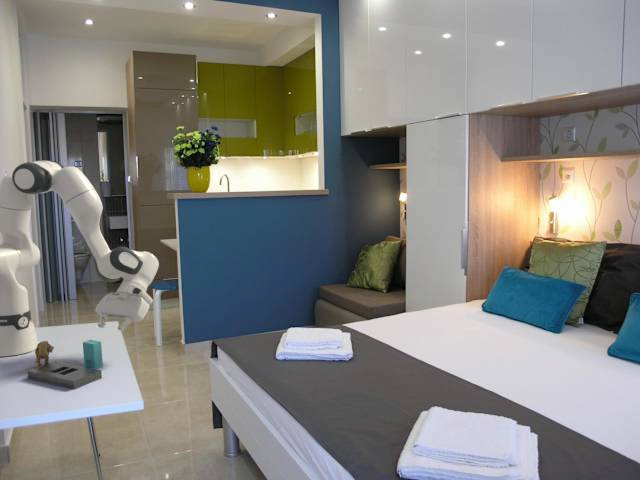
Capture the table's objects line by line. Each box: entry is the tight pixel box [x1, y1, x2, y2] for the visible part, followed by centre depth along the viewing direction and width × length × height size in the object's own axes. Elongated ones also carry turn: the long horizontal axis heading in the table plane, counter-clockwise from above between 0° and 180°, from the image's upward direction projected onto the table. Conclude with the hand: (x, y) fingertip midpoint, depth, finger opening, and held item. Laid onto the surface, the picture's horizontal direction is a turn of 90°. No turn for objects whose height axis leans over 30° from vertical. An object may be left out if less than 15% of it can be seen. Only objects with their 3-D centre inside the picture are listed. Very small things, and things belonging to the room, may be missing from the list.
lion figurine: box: [34, 340, 55, 368], centre depth 188 cm, size 15×5×9 cm, turn 35°
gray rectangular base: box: [27, 360, 103, 390], centre depth 174 cm, size 21×10×2 cm, turn 63°
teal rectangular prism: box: [82, 339, 104, 370], centre depth 183 cm, size 5×3×8 cm, turn 63°
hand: (110, 328), depth 189 cm, fingers open, 8 cm apart
